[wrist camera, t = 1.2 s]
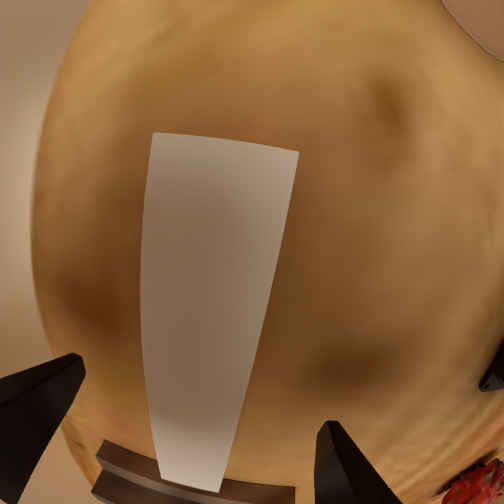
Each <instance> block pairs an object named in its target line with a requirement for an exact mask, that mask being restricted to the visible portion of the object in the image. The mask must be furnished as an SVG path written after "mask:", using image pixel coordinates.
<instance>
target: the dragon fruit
mask: <svg viewBox="0 0 504 504" xmlns="http://www.w3.org/2000/svg"><path fill="white" fill-rule="evenodd" d="M496 461H497V462H496ZM451 486H452V488H451V489H450V490H449V491H448V492H447V494H446V495H445V496H444V498H443V500H442V504H489V503H490V502H491V501H492V500H494V499H497V498H499V497H500V496H501V495H502V494H503V493H502V492H503V491H504V463H503V462H502V461H499V459H498V458H496V459H493V460H492V461H491V462H490V463H488V465H485V464H484V463H483V462H480V463H478V464H477V466H476V467H475V469H474V470H473V471H468V472H467V473H465V474H464V473H463V474H462V475H461V477H460V479H458V480H456V481H454V482H451V483H450V484H448V485H447V486H446V488H445V489H444V491H447V489H449V488H450V487H451ZM500 493H502V494H500Z"/></svg>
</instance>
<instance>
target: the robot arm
mask: <svg viewBox="0 0 504 504" xmlns="http://www.w3.org/2000/svg"><path fill="white" fill-rule="evenodd" d="M85 375H86V370H85V366H84V362H83V358H82V357H81V356H80V355H77V354H75V353H70V354H67V355H65V356H62V357H59V358H56V359H54V360H51V361H48V362H45V363H43V364H40V365H37V366H34V367H32V368H29V369H26V370H23V371H20V372H17V373H15V374H12V375H9V376H6V377H3V378H1V379H0V499H1V500H2V501H4V502H5V503H7V504H17V503H18V501H19V499H20V497H21V495H22V492H23V491H24V489H25V487H26V485H27V483H28V481H29V479H30V476H31V474H32V473H33V471H34V469H35V467H36V465H37V463H38V461H39V459H40V457H41V456H42V454H43V452H44V450H45V449H46V447H47V445H48V443H49V442H50V440H51V438H52V436H53V435H54V433H55V431H56V430H57V428H58V426H59V425H60V423H61V421H62V420H63V418H64V416H65V415H66V413H67V411H68V410H69V408H70V406H71V405H72V403H73V401H74V399H75V396H76V394H77V392H78V390H79V388H80V386H81V384H82V382H83V380H84V378H85ZM503 388H504V345H503V347H502V349H501V351H500V353H499V354H498V356H497V358H496V359H495V361H494V363H493V364H492V366H491V368H490V369H489V371H488V372H487V374H486V376H485V377H484V379H483V380H482V382H481V383H480V385H479V389H480V390H481V392H487V391H493V390H498V389H503ZM314 487H315V504H403V503H402V502H401V501H400V500H399V499H398V497H397V496H396V495H395V494H394V493H393V492H392V490H391V489H390V488H388V485H387V484H386V483H385V482H384V480H383V479H382V478H381V477H380V475H379V474H378V473H377V471H376V470H375V469H374V468H373V466H372V465H371V464H370V462H369V461H368V460H367V459H366V457H365V456H364V455H363V453H362V452H361V451H360V449H359V448H358V447H357V446H356V444H355V443H354V442H353V440H352V439H351V438H350V436H349V435H348V434H347V432H346V431H345V430H344V428H343V427H342V426H341V424H340V423H339V422H338V421H333V420H327V421H326V422H325V423H324V425H323V426H322V428H321V429H320V431H319V432H318V435H317V441H316V455H315V466H314Z"/></svg>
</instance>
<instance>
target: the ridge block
mask: <svg viewBox="0 0 504 504" xmlns="http://www.w3.org/2000/svg"><path fill="white" fill-rule="evenodd" d="M96 458H97V460H98V462H99V463H100V465H101V467H102V468H103V469H102V471H101V473H100V475H99V477H98V479H97V481H96V483H95V485H94V486H93V488H92V491H91V493H92V494H93V495H94V496H95V497H96V498H97V499H98V500H100V501H102V502H104V503H106V504H295V487H284V486H271V485H261V484H253V483H246V482H239V481H233V480H228V479H222V483H221V486H220V489H219V493H218V492H212V491H208V490H203V489H198V488H194V487H190V486H186V485H182V484H179V483H175V482H172V481H168V480H165V479H162V478H161V474H160V470H159V466H158V461H155V460H152V459H150V458H147V457H144V456H141V455H139V454H136V453H134V452H131V451H129V450H126V449H124V448H122V447H119V446H117V445H115V444H113V443H110V442H108V441H106V440H104V442H103V444H102V445H101V447H100V449H99V451H98V452H97V454H96Z"/></svg>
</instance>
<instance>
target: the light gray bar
mask: <svg viewBox="0 0 504 504" xmlns="http://www.w3.org/2000/svg"><path fill="white" fill-rule="evenodd" d="M298 156H299V152H298V151H293V150H288V149H283V148H278V147H273V146H267V145H261V144H255V143H249V142H242V141H236V140H228V139H221V138H213V137H204V136H194V135H183V134H170V133H153V139H152V145H151V151H150V158H149V165H148V173H147V181H146V189H145V199H144V210H143V222H142V238H141V261H140V318H141V340H142V356H143V368H144V378H145V388H146V396H147V404H148V411H149V418H150V424H151V430H152V436H153V441H154V447H155V452H156V456H157V461H158V466H159V470H160V474H161V478H162V479H165V480H168V481H172V482H175V483H179V484H182V485H186V486H190V487H194V488H198V489H203V490H208V491H212V492H218V493H219V489H220V486H221V483H222V479H223V476H224V472H225V469H226V465H227V462H228V458H229V455H230V451H231V448H232V444H233V440H234V437H235V433H236V429H237V426H238V422H239V418H240V414H241V411H242V407H243V403H244V399H245V395H246V391H247V388H248V384H249V380H250V376H251V372H252V368H253V364H254V360H255V356H256V352H257V347H258V343H259V339H260V335H261V331H262V327H263V322H264V318H265V314H266V309H267V305H268V301H269V296H270V292H271V287H272V283H273V279H274V274H275V269H276V265H277V260H278V256H279V251H280V246H281V242H282V237H283V232H284V227H285V223H286V218H287V213H288V208H289V203H290V198H291V193H292V188H293V183H294V177H295V172H296V167H297V162H298Z"/></svg>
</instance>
